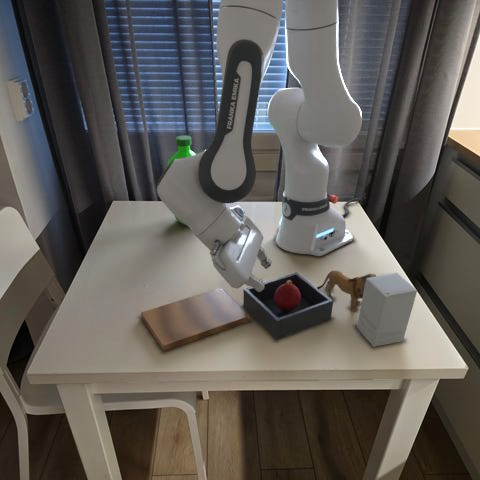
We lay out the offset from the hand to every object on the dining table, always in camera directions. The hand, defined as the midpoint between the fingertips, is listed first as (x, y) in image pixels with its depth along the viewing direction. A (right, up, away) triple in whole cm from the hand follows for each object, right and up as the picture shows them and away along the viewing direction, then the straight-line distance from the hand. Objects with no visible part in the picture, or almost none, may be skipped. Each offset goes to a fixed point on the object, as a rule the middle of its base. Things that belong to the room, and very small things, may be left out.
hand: (266, 276), depth 97 cm
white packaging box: (+24, -12, -1) cm, 27 cm away
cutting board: (-16, -9, +3) cm, 18 cm away
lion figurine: (+19, -5, +9) cm, 22 cm away
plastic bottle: (-21, +21, +42) cm, 52 cm away
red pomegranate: (+5, -7, +5) cm, 10 cm away
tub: (+5, -8, +5) cm, 10 cm away
